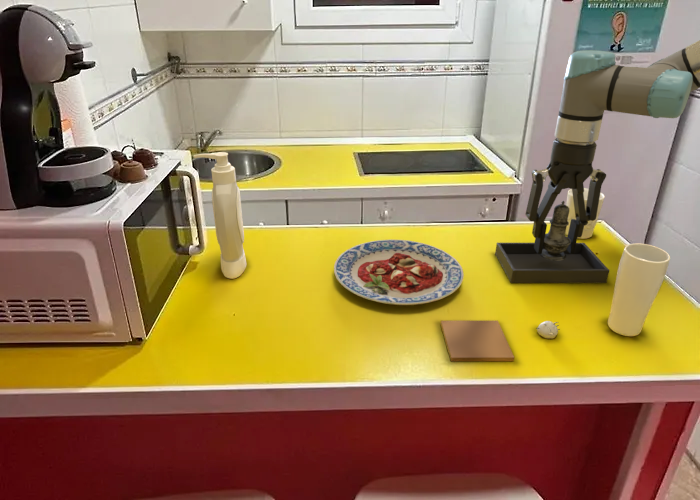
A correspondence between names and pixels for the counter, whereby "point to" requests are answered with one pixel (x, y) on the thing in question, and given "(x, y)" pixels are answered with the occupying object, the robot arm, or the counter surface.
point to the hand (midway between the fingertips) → (553, 250)
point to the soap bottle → (227, 215)
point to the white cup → (591, 225)
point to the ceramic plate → (398, 272)
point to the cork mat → (476, 341)
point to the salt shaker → (557, 235)
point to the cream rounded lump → (548, 329)
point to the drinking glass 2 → (636, 287)
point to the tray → (550, 265)
